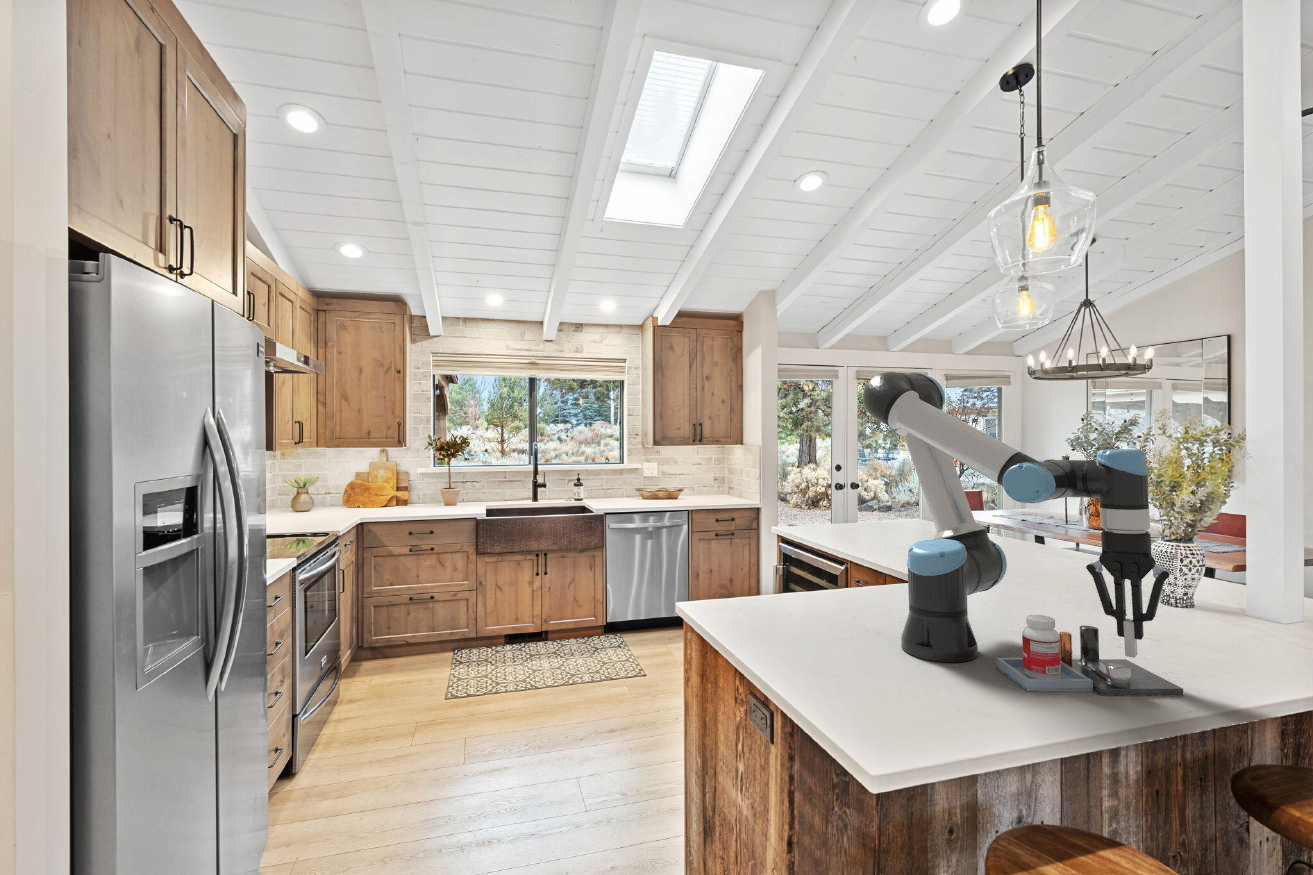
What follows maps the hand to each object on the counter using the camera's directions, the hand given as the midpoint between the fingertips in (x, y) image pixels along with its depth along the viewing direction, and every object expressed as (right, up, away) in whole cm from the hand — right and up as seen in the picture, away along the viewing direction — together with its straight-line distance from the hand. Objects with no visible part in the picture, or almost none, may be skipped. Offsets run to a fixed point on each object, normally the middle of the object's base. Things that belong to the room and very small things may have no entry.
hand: (1131, 654), depth 117 cm
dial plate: (-4, -5, 0) cm, 6 cm away
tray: (-17, -5, +1) cm, 17 cm away
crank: (-6, -3, -1) cm, 7 cm away
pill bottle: (-17, -4, +1) cm, 17 cm away
